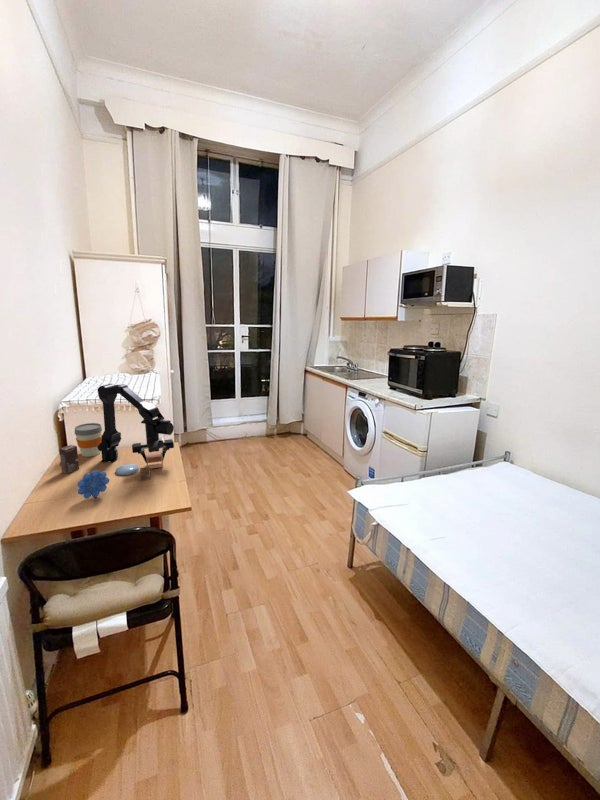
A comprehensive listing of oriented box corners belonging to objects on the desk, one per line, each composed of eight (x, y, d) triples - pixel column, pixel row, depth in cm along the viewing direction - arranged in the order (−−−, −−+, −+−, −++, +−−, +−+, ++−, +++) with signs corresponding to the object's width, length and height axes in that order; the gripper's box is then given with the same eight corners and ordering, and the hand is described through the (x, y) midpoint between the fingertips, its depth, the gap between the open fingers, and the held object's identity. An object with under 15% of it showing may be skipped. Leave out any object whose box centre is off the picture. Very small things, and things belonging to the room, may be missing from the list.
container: (147, 468, 171) (146, 457, 170) (146, 463, 177) (145, 451, 176) (163, 466, 174) (162, 455, 173) (162, 460, 180) (161, 449, 179)
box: (68, 474, 166) (64, 450, 163) (61, 472, 167) (58, 448, 164) (80, 469, 171) (77, 445, 168) (74, 467, 173) (70, 444, 170)
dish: (113, 476, 165) (112, 473, 165) (119, 466, 174) (118, 464, 174) (136, 474, 167) (135, 472, 167) (140, 465, 176) (140, 463, 176)
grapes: (110, 489, 153) (107, 463, 150) (111, 496, 148) (108, 470, 145) (78, 495, 147) (75, 469, 144) (78, 503, 142) (74, 476, 139)
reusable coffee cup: (96, 458, 183) (92, 431, 180) (72, 457, 183) (68, 430, 180) (109, 449, 195) (106, 423, 192) (86, 448, 196) (83, 422, 192)
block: (141, 480, 162) (140, 471, 161) (140, 476, 165) (140, 468, 164) (150, 479, 163) (149, 470, 162) (150, 475, 167) (149, 466, 166)
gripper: (130, 440, 161) (133, 471, 164) (174, 435, 168) (176, 465, 172) (130, 432, 170) (133, 462, 174) (171, 428, 178) (173, 456, 182)
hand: (154, 461), depth 175 cm, fingers closed on container, 7 cm apart
